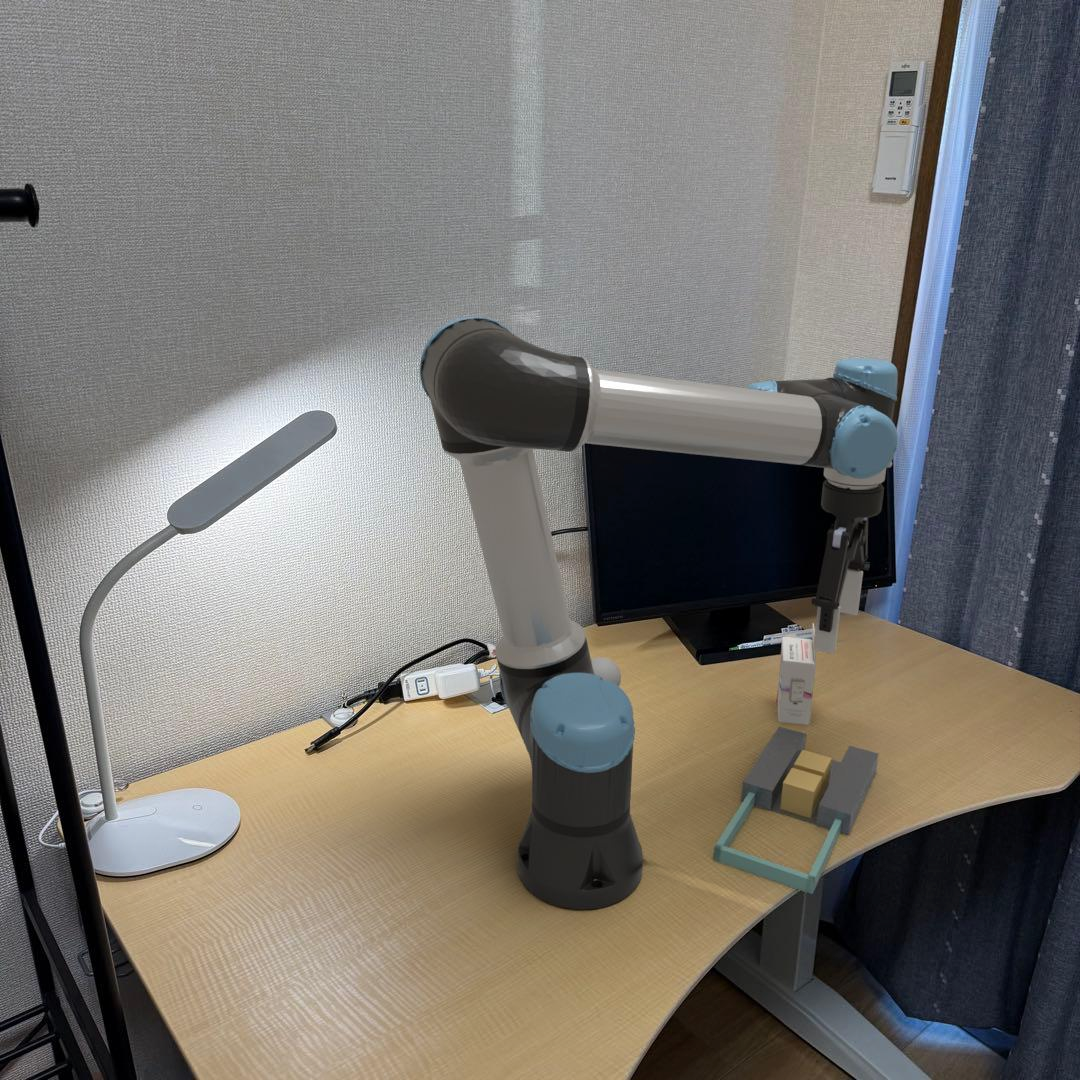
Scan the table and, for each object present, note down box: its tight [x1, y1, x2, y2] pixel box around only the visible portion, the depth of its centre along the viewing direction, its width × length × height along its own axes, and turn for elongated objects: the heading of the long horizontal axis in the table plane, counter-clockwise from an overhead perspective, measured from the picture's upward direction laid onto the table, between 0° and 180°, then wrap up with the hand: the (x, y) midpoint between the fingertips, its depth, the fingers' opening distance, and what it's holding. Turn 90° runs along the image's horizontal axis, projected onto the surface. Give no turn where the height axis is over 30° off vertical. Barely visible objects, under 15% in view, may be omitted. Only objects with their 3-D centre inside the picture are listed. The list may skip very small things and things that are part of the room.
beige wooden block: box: [794, 749, 833, 798], centre depth 129 cm, size 4×4×4 cm
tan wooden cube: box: [780, 768, 822, 818], centre depth 125 cm, size 4×4×4 cm
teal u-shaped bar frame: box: [713, 792, 842, 895], centre depth 118 cm, size 13×12×3 cm
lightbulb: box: [591, 656, 622, 687], centre depth 146 cm, size 6×6×11 cm
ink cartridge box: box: [776, 622, 817, 726], centre depth 147 cm, size 9×5×15 cm, turn 168°
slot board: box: [740, 726, 880, 836], centre depth 130 cm, size 16×14×4 cm
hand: (836, 631), depth 130 cm, fingers open, 13 cm apart
